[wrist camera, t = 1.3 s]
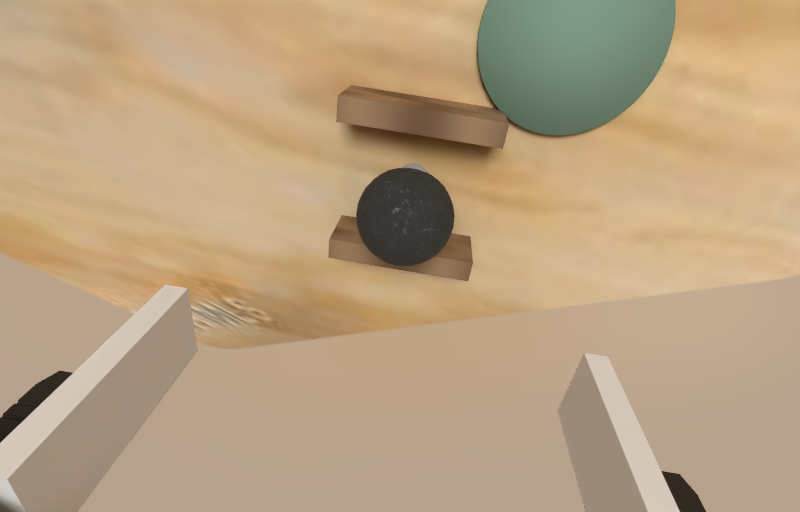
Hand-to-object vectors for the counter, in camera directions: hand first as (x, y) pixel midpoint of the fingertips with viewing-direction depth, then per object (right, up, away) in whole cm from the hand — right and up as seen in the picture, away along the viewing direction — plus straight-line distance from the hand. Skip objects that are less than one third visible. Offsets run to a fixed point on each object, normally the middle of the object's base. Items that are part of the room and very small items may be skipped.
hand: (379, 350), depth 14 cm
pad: (+11, +16, +11) cm, 22 cm away
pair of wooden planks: (+2, +9, +16) cm, 19 cm away
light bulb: (+2, +9, +17) cm, 19 cm away
